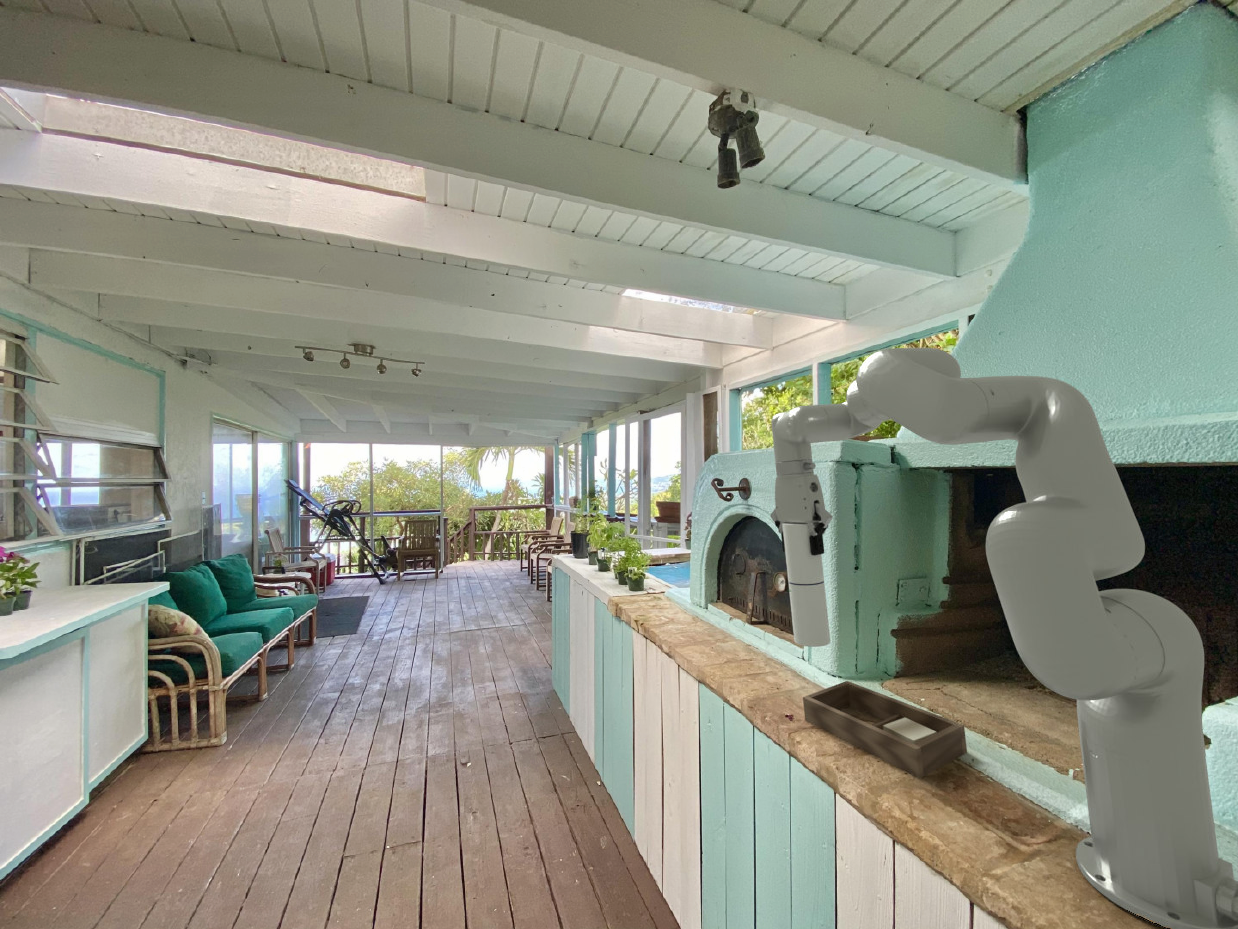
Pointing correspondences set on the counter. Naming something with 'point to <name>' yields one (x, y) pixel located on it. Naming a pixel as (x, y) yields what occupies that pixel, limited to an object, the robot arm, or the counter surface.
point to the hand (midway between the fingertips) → (803, 552)
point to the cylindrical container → (805, 587)
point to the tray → (872, 737)
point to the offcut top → (908, 730)
